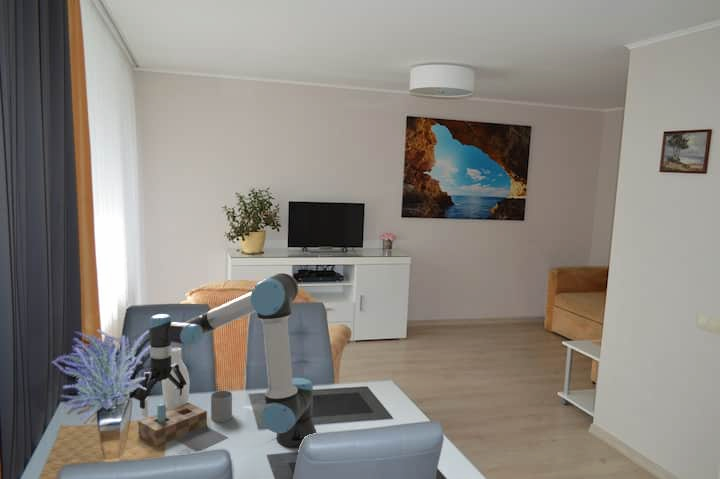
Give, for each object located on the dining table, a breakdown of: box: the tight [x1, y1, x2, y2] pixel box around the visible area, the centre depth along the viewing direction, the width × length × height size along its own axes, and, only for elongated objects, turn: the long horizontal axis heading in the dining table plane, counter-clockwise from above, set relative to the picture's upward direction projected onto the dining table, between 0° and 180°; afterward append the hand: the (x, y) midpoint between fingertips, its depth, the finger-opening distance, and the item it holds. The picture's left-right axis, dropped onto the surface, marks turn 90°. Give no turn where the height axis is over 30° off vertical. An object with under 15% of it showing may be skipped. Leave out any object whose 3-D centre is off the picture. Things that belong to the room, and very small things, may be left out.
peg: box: [156, 402, 167, 424], centre depth 204 cm, size 3×3×12 cm
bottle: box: [161, 347, 191, 411], centre depth 229 cm, size 11×11×25 cm
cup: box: [210, 390, 233, 423], centre depth 220 cm, size 8×8×10 cm
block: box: [137, 402, 208, 446], centre depth 209 cm, size 12×22×6 cm, turn 142°
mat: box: [174, 426, 229, 452], centre depth 203 cm, size 14×14×1 cm
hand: (161, 410), depth 204 cm, fingers open, 13 cm apart
